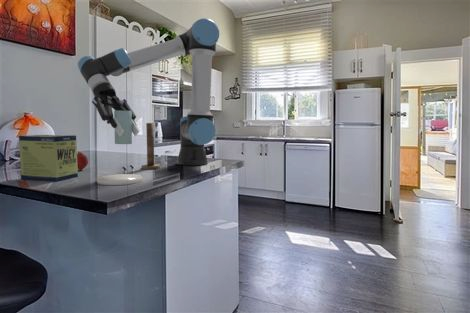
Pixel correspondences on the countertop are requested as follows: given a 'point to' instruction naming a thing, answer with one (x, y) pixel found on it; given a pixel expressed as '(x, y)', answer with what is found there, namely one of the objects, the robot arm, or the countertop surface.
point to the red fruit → (81, 161)
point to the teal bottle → (124, 127)
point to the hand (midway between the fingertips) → (129, 133)
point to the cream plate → (119, 179)
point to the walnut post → (150, 148)
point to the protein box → (48, 157)
